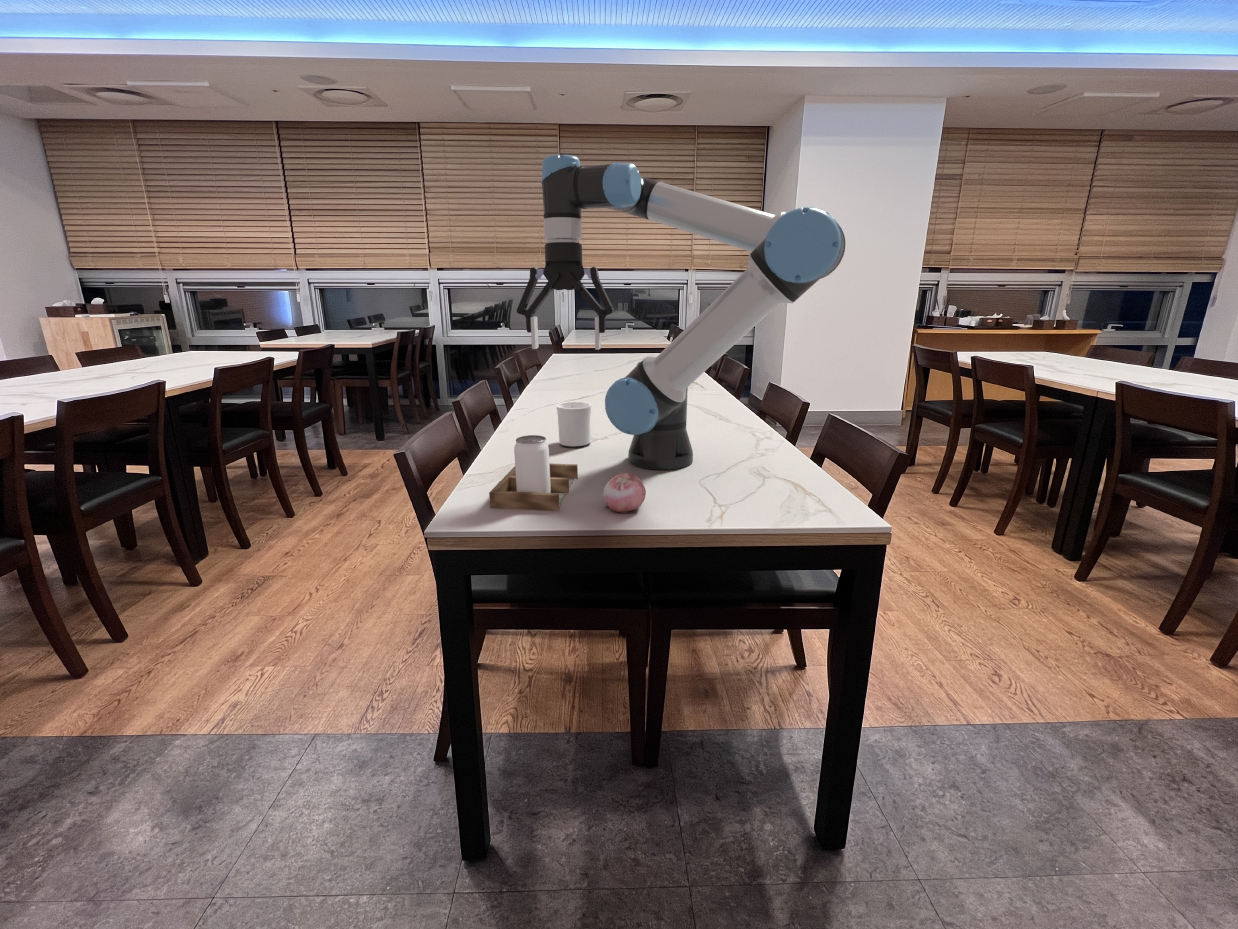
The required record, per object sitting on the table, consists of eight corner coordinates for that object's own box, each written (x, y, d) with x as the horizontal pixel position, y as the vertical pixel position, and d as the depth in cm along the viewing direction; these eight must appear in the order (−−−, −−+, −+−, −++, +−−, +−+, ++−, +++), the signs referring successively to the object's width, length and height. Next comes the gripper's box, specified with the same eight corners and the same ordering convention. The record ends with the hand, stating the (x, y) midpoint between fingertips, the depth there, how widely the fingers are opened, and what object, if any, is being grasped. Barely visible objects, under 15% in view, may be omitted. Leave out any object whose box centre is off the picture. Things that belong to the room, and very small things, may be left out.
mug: (591, 448, 148) (590, 408, 145) (555, 448, 148) (554, 408, 145) (593, 437, 158) (592, 400, 155) (560, 437, 158) (559, 400, 155)
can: (544, 506, 110) (540, 444, 106) (512, 503, 111) (507, 442, 108) (555, 494, 116) (553, 435, 112) (525, 491, 117) (521, 433, 114)
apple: (619, 523, 105) (605, 489, 102) (603, 512, 112) (590, 479, 109) (656, 503, 107) (644, 469, 105) (638, 494, 114) (626, 461, 112)
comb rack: (577, 477, 126) (577, 464, 125) (558, 510, 108) (557, 495, 107) (519, 475, 128) (518, 462, 127) (490, 507, 110) (489, 492, 109)
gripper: (626, 242, 120) (626, 347, 127) (508, 243, 123) (514, 346, 130) (622, 240, 113) (622, 351, 120) (497, 241, 116) (504, 350, 122)
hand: (566, 348), depth 125 cm, fingers open, 13 cm apart
